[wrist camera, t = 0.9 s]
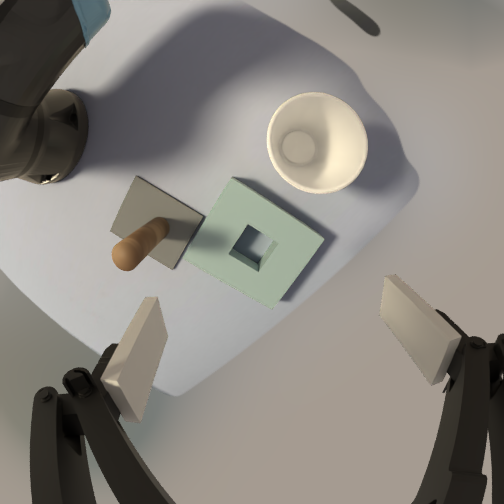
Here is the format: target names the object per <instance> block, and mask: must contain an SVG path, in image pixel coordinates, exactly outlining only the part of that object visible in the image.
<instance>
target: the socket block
mask: <svg viewBox="0 0 504 504" xmlns="http://www.w3.org/2000/svg"><path fill="white" fill-rule="evenodd" d="M248 224H249V225H250V226H252V227H253V228H255V229H257V230H258V231H260V232H261V233H263V234H265V235H266V236H268V237H269V238H271V239H273V240H274V241H273V242H272V244H271V245H270V247H269V248H268V250H267V251H266V253H265V254H264V255H263V257H262V258H261V260H260V261H259V263H258V264H257V263H255V262H254V261H252V260H250V259H249V258H247V257H245V256H244V255H242V254H240V253H239V252H237V251H235V250H234V249H232V247H233V246H234V244H235V243H236V241H237V240H238V238H239V237H240V235H241V234H242V232H243V231H244V229H245V228H246V226H247V225H248ZM323 241H324V238H323V237H322V236H321V235H320V234H319V233H318V232H316V231H315V230H314V229H312V228H311V227H309V226H308V225H306V224H305V223H303V222H302V221H300V220H299V219H297V218H296V217H294V216H293V215H291V214H290V213H288V212H287V211H285V210H284V209H282V208H281V207H279V206H278V205H276V204H275V203H273V202H272V201H270V200H269V199H267V198H265V197H264V196H262V195H261V194H259V193H258V192H256V191H255V190H253V189H251V188H250V187H248V186H247V185H245V184H243V183H242V182H240V181H239V180H237V179H235V178H234V177H232V178H231V179H230V181H229V182H228V184H227V186H226V187H225V189H224V190H223V192H222V194H221V195H220V197H219V198H218V200H217V202H216V203H215V205H214V206H213V208H212V210H211V211H210V213H209V215H208V216H207V218H206V219H205V221H204V223H203V224H202V226H201V228H200V229H199V231H198V233H197V235H196V236H195V238H194V240H193V241H192V243H191V245H190V246H189V248H188V250H187V252H186V253H185V255H184V257H183V259H184V260H186V261H188V262H189V263H191V264H193V265H194V266H196V267H198V268H200V269H201V270H203V271H205V272H206V273H208V274H210V275H212V276H213V277H215V278H217V279H218V280H220V281H222V282H224V283H225V284H227V285H229V286H231V287H232V288H234V289H236V290H238V291H240V292H241V293H243V294H245V295H247V296H248V297H250V298H252V299H254V300H256V301H257V302H259V303H261V304H263V305H265V306H267V307H268V308H270V309H273V308H274V307H275V305H276V304H277V303H278V301H279V300H280V299H281V298H282V296H283V295H284V294H285V292H286V291H287V290H288V288H289V287H290V286H291V284H292V283H293V282H294V280H295V279H296V278H297V276H298V275H299V274H300V272H301V271H302V270H303V268H304V267H305V266H306V264H307V263H308V262H309V260H310V259H311V257H312V256H313V255H314V253H315V252H316V251H317V249H318V248H319V246H320V245H321V244H322V242H323Z"/></svg>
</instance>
